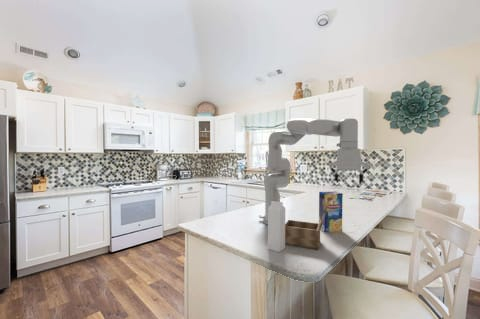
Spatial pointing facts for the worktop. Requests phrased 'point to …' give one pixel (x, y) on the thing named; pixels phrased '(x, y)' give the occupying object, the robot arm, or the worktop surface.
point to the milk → (276, 226)
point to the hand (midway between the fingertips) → (348, 182)
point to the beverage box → (331, 211)
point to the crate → (302, 234)
